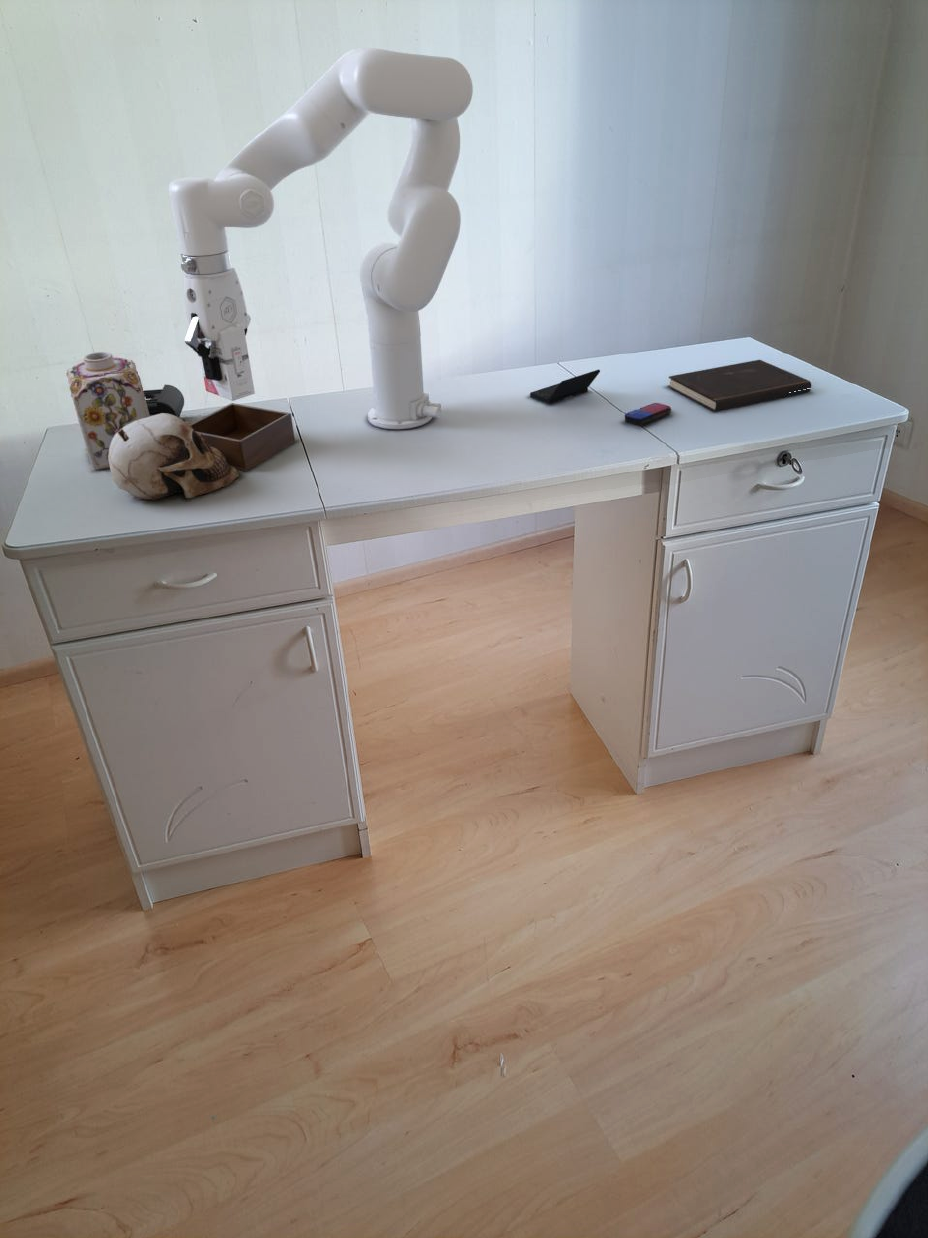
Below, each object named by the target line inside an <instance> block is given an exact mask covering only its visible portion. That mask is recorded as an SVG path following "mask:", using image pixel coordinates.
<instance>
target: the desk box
mask: <svg viewBox="0 0 928 1238" xmlns="http://www.w3.org/2000/svg"><path fill="white" fill-rule="evenodd" d="M189 424H190V425H191V427H192V428H193V429H194V431H195V432H196V433H200V434H201V438H204V439H205V441H206V443H207V444H208V445H209V446H210V447H214V448H216V449H218V450H219V451H220V452H221V453H222V454H223V456H224V457H225V459H226V462H227V464H228V465H231V466H232V467H234V468H235V469H236V470H237V471H242V472H248V471H250V470H251V469H253V468H254V467H256V466H258V465H260V464H261V463H262V462H264V461H266V460H268V459H269V458H271V457H273V456H274V455H276V454H278V453H279V452H281V451H282V450H285V448H287V447H289V446H290V445H292V444H294V443H295V442H296V439H295V431H294V425H293V418H292V413H291V412H285V411H280V410H275V409H274V410H273V409H268V408H263V407H256V406H251V405H245V404H240V403H234V402H231V403H229V404H227V405H225V406H223V407H221V408H219V409H217V410H215V411H213V412H211V413H209V414H208V415H206V416H204V417H202V418H200V419H198V420H196V421H194V422H192V423H189Z"/></svg>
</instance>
